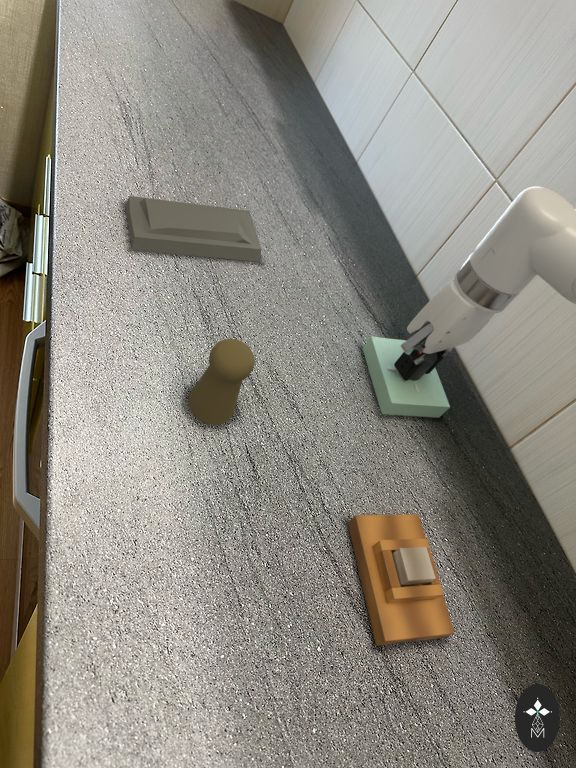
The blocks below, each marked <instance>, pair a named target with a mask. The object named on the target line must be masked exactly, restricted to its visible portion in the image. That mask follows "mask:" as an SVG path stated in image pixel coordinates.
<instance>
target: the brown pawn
mask: <svg viewBox="0 0 576 768" xmlns="http://www.w3.org/2000/svg"><path fill="white" fill-rule="evenodd" d="M255 361H256V360H255V356H254V353H253V351H252V348H251V347H250V346H249V345H248V344H246V343H245V342H244V341H242V340H240V339H236V338H225V339H224V338H223V339H222V340H220V341H218V342H217V343H216V344H215V345H213V347H212V348H211V350H210V353H209V356H208V367H207V368H206V369H205V371H204V372H203V374H202V375H201V376H200V378H199V379H198V381H197V382H196V384H195V386H194V387H193V388H192V390H191V391H190V392H189V395H188V398H187V406H188V408H189V411H190V412H191V414H192V415H193V416H194V417H195V418H196V419H197V420H199V421H200V422H202V423H203V424H204V423H205V424H208V425H213V426H214V425H215V426H217V425H221V424H225V423H226V422H229V420H230V419H231V418H232V417H233V415H234V412H235V409H236V405H237V402H238V399H239V395H240V391H241V388H242V384H243V381H245V380H246V379H247V378H248V377H249V376H250V375H251V374H252V372H253V371H254V367H255Z"/></svg>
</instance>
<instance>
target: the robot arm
mask: <svg viewBox="0 0 576 768" xmlns="http://www.w3.org/2000/svg"><path fill="white" fill-rule="evenodd" d="M453 276H454V277H453V279H451V280H450V281H449V282H448V283H446V285H444V286H443V287H442V288H441V289H440V290H438V292H437V293H435V295H434V296H432V298H431V299H430V300H429V301H428V302H427V303H426V304H425V305H424V306H423V308H422V309H421V310H420V311H419V312H418V313H417V314H416V315H415V317H414V318H413V319H412V320H411V321H410V322H409V324H408V325H407V327H406V331H407V332H408V334H413V335H412V336H411V337H409V338H408V339H407V340H405V341H406V342H404V343H403V344H402V345H401V348H402V349H403V351H404V352H403V354H402V355H401V356H400V357H399V359H398V360H397V361H396V362H395V364H394V366H395V368H396V369H397V370H398V372H399V373H400V375H401V376H402V377H403V379H404V380H405V381H407V380H410V378H411V377H412V376H413V375H414V374H415V373H416V372H417V371H418V369H419V368H420V367H421V366H422V363H421V362H422V361H423V360H424V359H425V358H426V357H427V356H428V355H429V354H431V353H437V360H436V361H435V363H434V364H433V365H432V366H431V367H430V368H429V369H428V370H427V371H426V372H425V374H429V373H431V371H432V370H433V369H434V368H436V367H437V366H438V365H439V364H440V363H441V362H442V361H443V360H444V357H446V356H448V355H449V354H450V353H451V352H452V350H453V349H454V348H455V347H459V346H462V345H465V344H466V343H468V342H470V341H471V340H472V339H474V338H475V337H476V335H478V334H479V333H480V332H481V331H482V330H483V329H484V328H485V326H486V325H487V324H488V323H489V322H490V320H491V319H492V318H493V317H494V316H495V314H499V313H502V312H503V311H504V310H505V309H506V308H507V307H508V306H509V305H510V304H511V303H512V302H513V301H514V300H515V298H516V297H518V295H520V293H521V292H522V291H523V290H524V289H525V288H526V287H527V286H528V285H529V284H530V283H531V282H532V281H533V280H534V279H535V277H537V276H539V278H541V279H542V280H543V281H544V282H545V283H547V284H548V285H549V287H551V288H552V289H553V290H554V291H556V292H557V293H558V294H559V295H560V296H561V297H563V298H564V299H565V300H567V301H569V302H570V303H572V304H573V305H576V208H574V206H573V205H572V204H571V203H570V202H569V201H568V200H567V199H566V198H564V196H562V195H561V194H559V193H557V192H555V191H553V190H551V189H550V188H547V187H543V186H530V187H527V188H525V189H523V190H522V191H520V193H518V194H517V196H516V197H515V198H514V199H513V200H512V202H511V203H510V205H509V206H507V208H506V209H505V211H504V212H503V213H502V215H501V216H500V217H499V218H498V219H497V221H496V222H495V223H494V224H493V226H492V227H491V229H490V230H489V231H488V232H487V233H486V235H485V236H484V237H483V239H481V241H480V242H479V243H478V245H477V246H475V248H474V249H473V251H472V252H471V253H470V254H469V256H468V257H467V258H466V259H465V261H464V262H463V263H462V265H461V266H460V267H459V268H458V269H457V271H456V272H455V273H454V275H453ZM419 345H421V347H422V348H423V352H422V353H421V354H420V353H419V351H418V350H417V349H416V348H417V347H418V346H419Z"/></svg>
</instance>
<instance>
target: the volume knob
mask: <svg viewBox="0 0 576 768" xmlns="http://www.w3.org/2000/svg"><path fill="white" fill-rule="evenodd" d="M416 349H417V350H418V351H419V353H420V354H421V353H422V352H423V348H422V347H421V345H419V346H418V347H417V348H416ZM436 360H437V353H431V354H429V355H428V356H427V357H426V358H425V359H424V360H423V361H422V362H421V363H422V366H421V367H420V368H419V369H418V371H417V372H416V373H415V374H414V375H413V376H412V377H411V378H410V380H413V381H416V380H419V379H420V378H421V377H422V376H423V375H424V374H425V372H426V371H427V370H428V369H429V368H430V367H431V366H432V365H433V364H434V363H435V361H436Z"/></svg>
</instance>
